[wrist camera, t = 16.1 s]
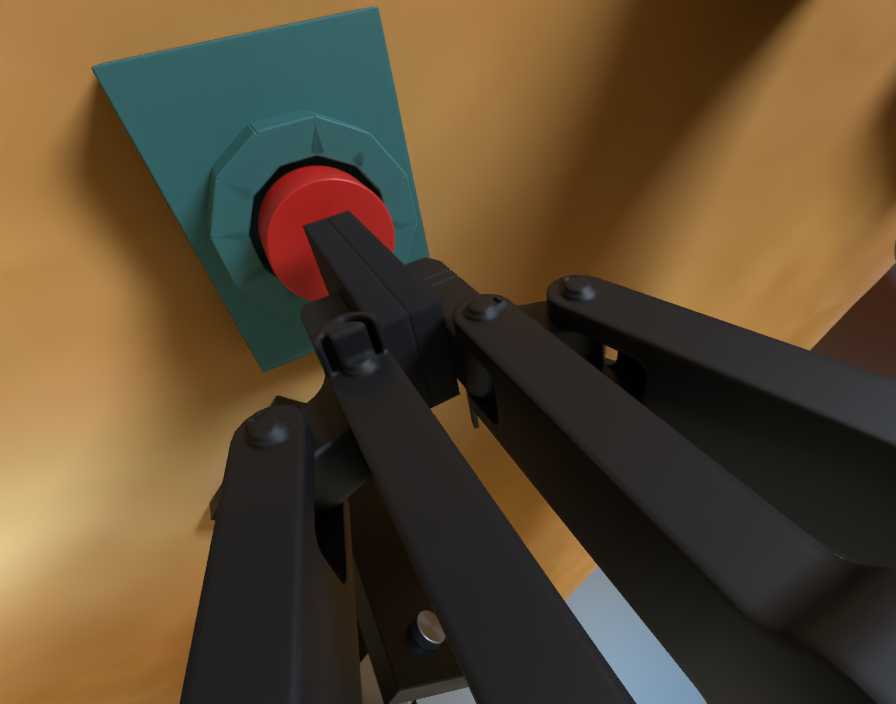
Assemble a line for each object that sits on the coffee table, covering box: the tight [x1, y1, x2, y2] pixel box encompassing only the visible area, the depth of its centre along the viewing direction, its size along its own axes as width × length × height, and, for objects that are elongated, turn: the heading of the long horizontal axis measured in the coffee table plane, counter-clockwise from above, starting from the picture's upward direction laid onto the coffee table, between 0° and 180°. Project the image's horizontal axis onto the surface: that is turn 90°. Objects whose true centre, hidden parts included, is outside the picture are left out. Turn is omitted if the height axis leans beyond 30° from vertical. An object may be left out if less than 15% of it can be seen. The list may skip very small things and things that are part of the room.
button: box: [258, 165, 395, 301], centre depth 16 cm, size 4×4×2 cm
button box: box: [91, 6, 429, 372], centre depth 18 cm, size 12×9×4 cm
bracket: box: [210, 396, 468, 704], centre depth 23 cm, size 10×8×14 cm
